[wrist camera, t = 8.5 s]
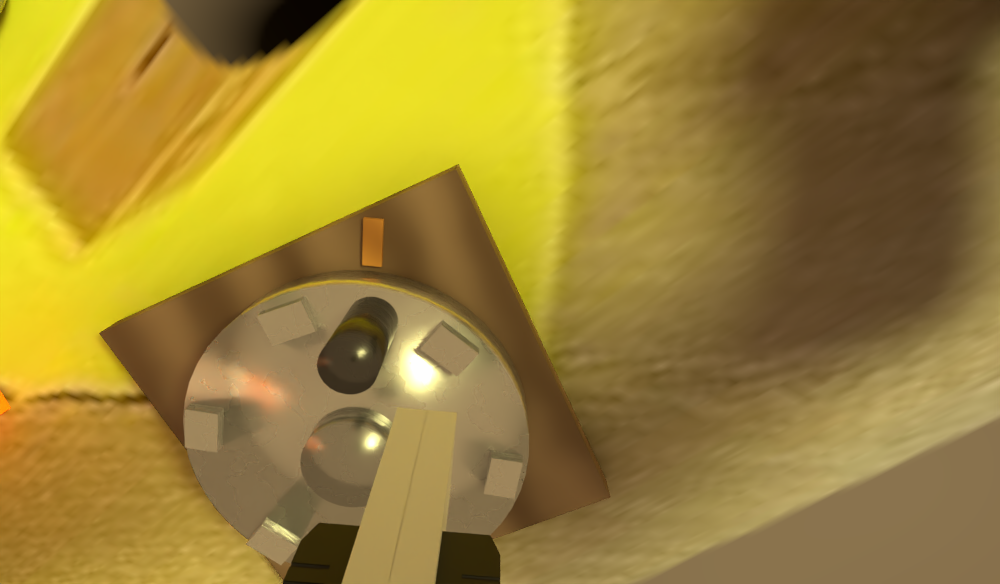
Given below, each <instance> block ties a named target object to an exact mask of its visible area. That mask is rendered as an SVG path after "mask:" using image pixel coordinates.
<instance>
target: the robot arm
mask: <svg viewBox="0 0 1000 584" xmlns="http://www.w3.org/2000/svg"><path fill="white" fill-rule="evenodd" d="M456 419H457V413H455V412H444V411H433V410H422V409H410V408H399V407H398V408H397V411H396V414H395V417H394V420H393V423H392V427H391V430H390V433H389V436H388V439H387V442H386V445H385V449H384V452H383V455H382V458H381V461H380V464H379V467H378V471H377V474H376V477H375V480H374V483H373V486H372V489H371V493H370V496H369V499H368V502H367V505H366V508H365V511H364V515H363V518H362V521H361V524H360V526H356V525H344V524H332V523H320V522H319V523H318V524H317V525H316V526H315V527H314V528H313V529H312V530H311V531H310V532H309V533H308V534H307V535H306V536H305V537H304V538H303V539H302V540H301V541H300V543H299V546H298V548H297V550H296V553H295V555H294V557H293V559H292V562H291V566H290V567H289V569H288V571H287V573H286V576H285V578H284V580H283V584H500V554H499V552H498V550H497V548H496V546H495V544H494V542H493V540H492V538H491V536H490V535H483V534H471V533H459V532H447V531H446V523H447V515H448V507H449V499H450V488H451V476H452V465H453V453H454V442H455V431H456Z"/></svg>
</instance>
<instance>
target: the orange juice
mask: <svg viewBox="0 0 1000 584" xmlns="http://www.w3.org/2000/svg"><path fill="white" fill-rule="evenodd" d="M10 408H11V407H10V406H9V404H8V403H7V401H6V399H5V398H4V396H3V394H2V393H1V391H0V415H1V414H2V413H4V412H5V411H7V410H8V409H10Z"/></svg>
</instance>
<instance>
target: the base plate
mask: <svg viewBox="0 0 1000 584" xmlns="http://www.w3.org/2000/svg"><path fill="white" fill-rule="evenodd" d="M340 270H366V271H375V272H384V273H389V274H394V275H398V276H402V277H406V278H410V279H412V280H415V281H418V282H421V283H423V284H426V285H429V286H431V287H433V288H435V289H437V290H439V291H441V292H443V293H445V294H447V295H448V296H450V297H452V298H453V299H455V300H456V301H458V302H459V303H461V304H462V305H464V306H465V307H466V308H468V309H469V310H470V311H472V312H473V313H474V314H475V315H476V316H477V317H478V318H479V319H481V320H482V321H483V322H484V323H485V324H486V325H487V326H488V327H489V329H490V330H491V331H492V332H493V333H494V334H495V336H496V337H497V338H498V339H499V340H500V342H501V343H502V345H503V346H504V348H505V349H506V351H507V353H508V354H509V356H510V357H511V359H512V362H513V364H514V366H515V368H516V370H517V372H518V374H519V377H520V381H521V384H522V387H523V391H524V395H525V401H526V408H527V418H528V432H529V458H528V464H527V470H526V475H525V478H524V481H523V484H522V488H521V491H520V493H519V495H518V497H517V499H516V501H515V503H514V505H513V507H512V509H511V510H510V512H509V513H508V515H507V516H506V517H505V519H504V520H503V522H502V523H501V524H500V525H499V526H498V527H497V529H496V530H495V531H494V532H493V533H492V534H491V535H490V536H491V538H492V539H494V538H497V537H500V536H503V535H505V534H508V533H511V532H514V531H517V530H520V529H522V528H525V527H528V526H531V525H534V524H536V523H539V522H542V521H545V520H548V519H550V518H553V517H556V516H559V515H562V514H565V513H567V512H570V511H573V510H576V509H579V508H581V507H584V506H587V505H590V504H593V503H595V502H598V501H601V500H604V499H607V498H610V494H609V490H608V486H607V482H606V479H605V477H604V475H603V473H602V470H601V468H600V466H599V464H598V462H597V460H596V458H595V455H594V453H593V451H592V449H591V447H590V445H589V443H588V440H587V438H586V436H585V434H584V432H583V430H582V428H581V425H580V423H579V421H578V419H577V417H576V415H575V413H574V410H573V408H572V406H571V404H570V402H569V400H568V398H567V395H566V393H565V391H564V389H563V387H562V385H561V383H560V380H559V378H558V376H557V374H556V372H555V370H554V368H553V365H552V363H551V361H550V359H549V357H548V355H547V353H546V350H545V348H544V346H543V344H542V342H541V340H540V338H539V336H538V333H537V331H536V329H535V327H534V325H533V323H532V321H531V318H530V316H529V314H528V312H527V310H526V308H525V306H524V303H523V301H522V299H521V297H520V295H519V293H518V291H517V288H516V286H515V284H514V282H513V280H512V278H511V276H510V273H509V271H508V269H507V267H506V265H505V263H504V261H503V258H502V256H501V254H500V252H499V250H498V248H497V246H496V243H495V241H494V239H493V237H492V235H491V233H490V231H489V228H488V226H487V224H486V222H485V220H484V218H483V216H482V213H481V211H480V209H479V207H478V205H477V203H476V201H475V198H474V196H473V194H472V192H471V190H470V188H469V186H468V184H467V181H466V179H465V177H464V175H463V173H462V171H461V169H460V166H459V164H458V165H456V166H454V167H452V168H450V169H447V170H445V171H443V172H441V173H439V174H437V175H434V176H432V177H430V178H428V179H426V180H424V181H421V182H419V183H417V184H415V185H413V186H411V187H408V188H406V189H404V190H402V191H400V192H397V193H395V194H393V195H391V196H389V197H387V198H384V199H382V200H380V201H378V202H376V203H374V204H371V205H369V206H367V207H365V208H363V209H361V210H358V211H356V212H354V213H352V214H350V215H348V216H345V217H343V218H341V219H339V220H337V221H335V222H332V223H330V224H328V225H326V226H324V227H322V228H319V229H317V230H315V231H313V232H311V233H309V234H306V235H304V236H302V237H300V238H298V239H295V240H293V241H291V242H289V243H287V244H285V245H282V246H280V247H278V248H276V249H274V250H272V251H269V252H267V253H265V254H263V255H261V256H259V257H256V258H254V259H252V260H250V261H248V262H246V263H243V264H241V265H239V266H237V267H235V268H233V269H230V270H228V271H226V272H224V273H222V274H220V275H217V276H215V277H213V278H211V279H209V280H206V281H204V282H202V283H200V284H198V285H196V286H193V287H191V288H189V289H187V290H185V291H183V292H180V293H178V294H176V295H174V296H172V297H170V298H167V299H165V300H163V301H161V302H159V303H157V304H154V305H152V306H150V307H148V308H146V309H144V310H141V311H139V312H137V313H135V314H133V315H131V316H128V317H126V318H124V319H122V320H120V321H118V322H116V323H114V324H113V325H111V326H110V327H108V328H107V329H105V330H103V331H102V332H100V333H99V334H100V335H101V336H102V338H103V339H104V340H105V342H106V343H107V344H108V346H109V347H110V348H111V350H112V351H113V352H114V354H115V355H116V356H117V358H118V359H119V360H120V362H121V363H122V364H123V366H124V367H125V368H126V370H127V371H128V372H129V374H130V375H131V376H132V378H133V379H134V380H135V382H136V383H137V384H138V386H139V387H140V388H141V390H142V391H143V393H144V394H145V395H146V397H147V398H148V399H149V401H150V402H151V403H152V405H153V406H154V407H155V409H156V410H157V411H158V413H159V414H160V415H161V417H162V418H163V419H164V421H165V422H166V423H167V425H168V426H169V427H170V429H171V430H172V431H173V433H174V434H175V435H176V437H177V438H178V439H179V441H180V442H181V443H182V445H183V446H184V447H185V438H184V425H183V416H184V403H185V398H186V394H187V389H188V385H189V382H190V379H191V377H192V375H193V372H194V370H195V367H196V365H197V363H198V361H199V360H200V358H201V357H202V355H203V354H204V352H205V350H206V349H207V347H208V346H209V345H210V344H211V343H212V341H213V340H214V339H215V338H216V337H217V336H218V335H219V333H220V332H221V331H222V330H223V329H224V328H225V327H227V326H228V325H229V324H230V323H231V322H232V321H233V320H234V319H235V318H237V317H238V316H239V315H240V314H241V313H242V312H243V311H244V310H246V309H247V308H248V307H249V306H251V305H252V304H253V303H254V302H255V301H257V300H258V299H259V298H261V297H262V296H264V295H266V294H267V293H269V292H271V291H272V290H274V289H276V288H277V287H280V286H282V285H284V284H287V283H289V282H291V281H294V280H296V279H300V278H303V277H307V276H311V275H314V274H318V273H325V272H332V271H340ZM185 449H186V450H187V448H185ZM267 559H268V560H269V561H270V563H271V564H272V565H273V567H274V568H275V569H276V571H277V572H278V573H279V575H280V576H281V577H282V579H283V580H284V578H285V576H286V573H287V571H288V569H289V567H290V566H291V563H288V562H286V561H285V562H284V563H283V564H282V565H280V564H278V563H276V562H275V561H273V560H271V559H270V558H268V557H267Z"/></svg>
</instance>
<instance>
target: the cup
mask: <svg viewBox="0 0 1000 584" xmlns="http://www.w3.org/2000/svg"><path fill="white" fill-rule="evenodd" d="M5 3H6V0H0V14H1V12H2V10H3V8H4V6H5Z"/></svg>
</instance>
